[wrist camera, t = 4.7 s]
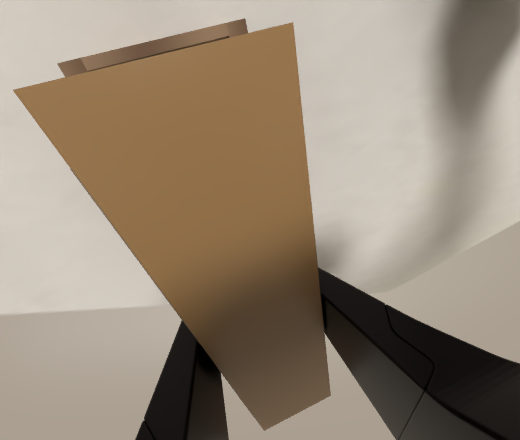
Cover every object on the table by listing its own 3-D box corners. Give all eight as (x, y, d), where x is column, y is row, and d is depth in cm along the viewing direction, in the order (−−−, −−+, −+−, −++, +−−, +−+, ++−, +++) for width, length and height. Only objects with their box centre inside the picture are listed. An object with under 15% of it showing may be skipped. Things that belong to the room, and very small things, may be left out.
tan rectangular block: (235, 53, 6) (293, 22, 3) (298, 331, 14) (330, 395, 11) (92, 90, 5) (-3, 92, 2) (242, 357, 13) (261, 432, 10)
